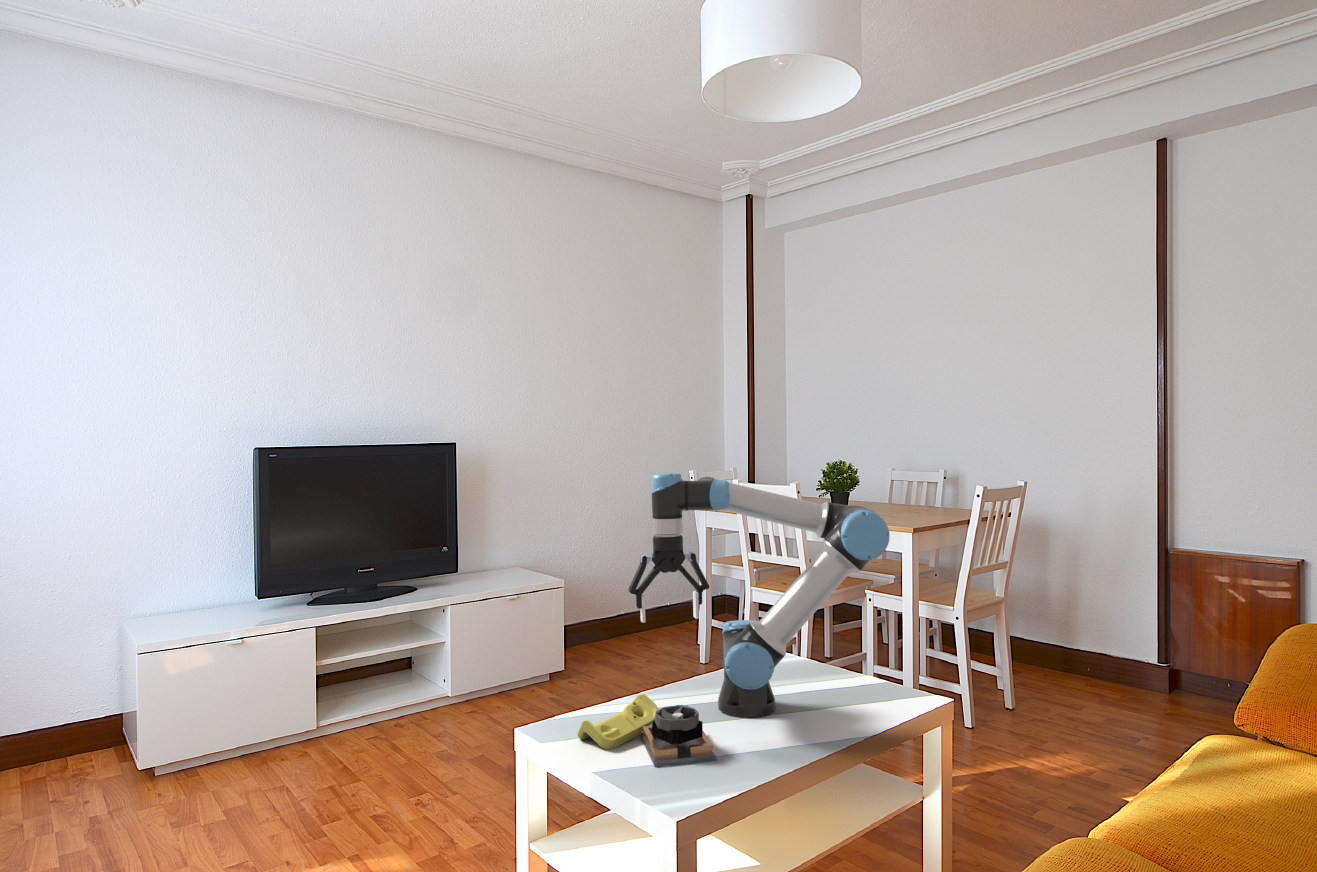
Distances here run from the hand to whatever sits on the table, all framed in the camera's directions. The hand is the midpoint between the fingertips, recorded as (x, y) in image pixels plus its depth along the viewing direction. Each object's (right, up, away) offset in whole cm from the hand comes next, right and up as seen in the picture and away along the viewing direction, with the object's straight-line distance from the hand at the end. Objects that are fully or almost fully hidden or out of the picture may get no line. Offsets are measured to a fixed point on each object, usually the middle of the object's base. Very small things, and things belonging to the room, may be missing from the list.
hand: (669, 619), depth 200 cm
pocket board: (+1, -27, -14) cm, 30 cm away
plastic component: (-12, -27, -5) cm, 30 cm away
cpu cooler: (+2, -24, -15) cm, 28 cm away
